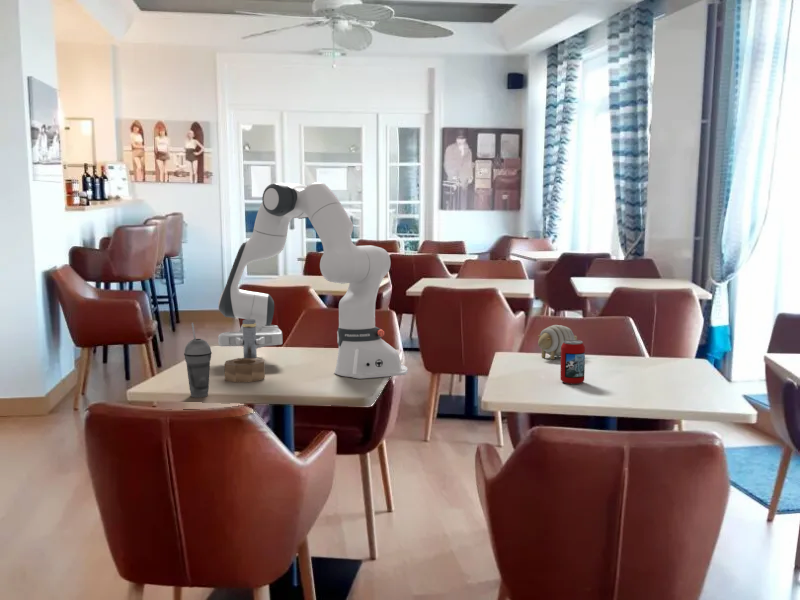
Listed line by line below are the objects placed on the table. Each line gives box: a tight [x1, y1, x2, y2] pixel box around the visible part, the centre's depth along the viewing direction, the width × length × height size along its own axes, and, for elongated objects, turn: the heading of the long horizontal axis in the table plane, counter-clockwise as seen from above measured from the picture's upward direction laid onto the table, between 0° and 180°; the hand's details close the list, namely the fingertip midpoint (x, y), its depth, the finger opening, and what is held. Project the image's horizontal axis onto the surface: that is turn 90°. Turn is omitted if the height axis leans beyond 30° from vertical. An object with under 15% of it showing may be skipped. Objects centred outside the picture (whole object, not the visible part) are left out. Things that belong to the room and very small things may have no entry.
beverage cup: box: [183, 322, 213, 398], centre depth 206 cm, size 7×7×20 cm
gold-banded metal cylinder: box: [241, 319, 258, 358], centre depth 238 cm, size 4×4×16 cm
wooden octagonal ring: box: [224, 357, 266, 383], centre depth 228 cm, size 12×12×5 cm
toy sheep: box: [537, 324, 578, 361], centre depth 257 cm, size 11×17×11 cm, turn 127°
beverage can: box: [560, 339, 586, 385], centre depth 219 cm, size 7×7×12 cm
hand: (249, 342), depth 237 cm, fingers closed on gold-banded metal cylinder, 4 cm apart
